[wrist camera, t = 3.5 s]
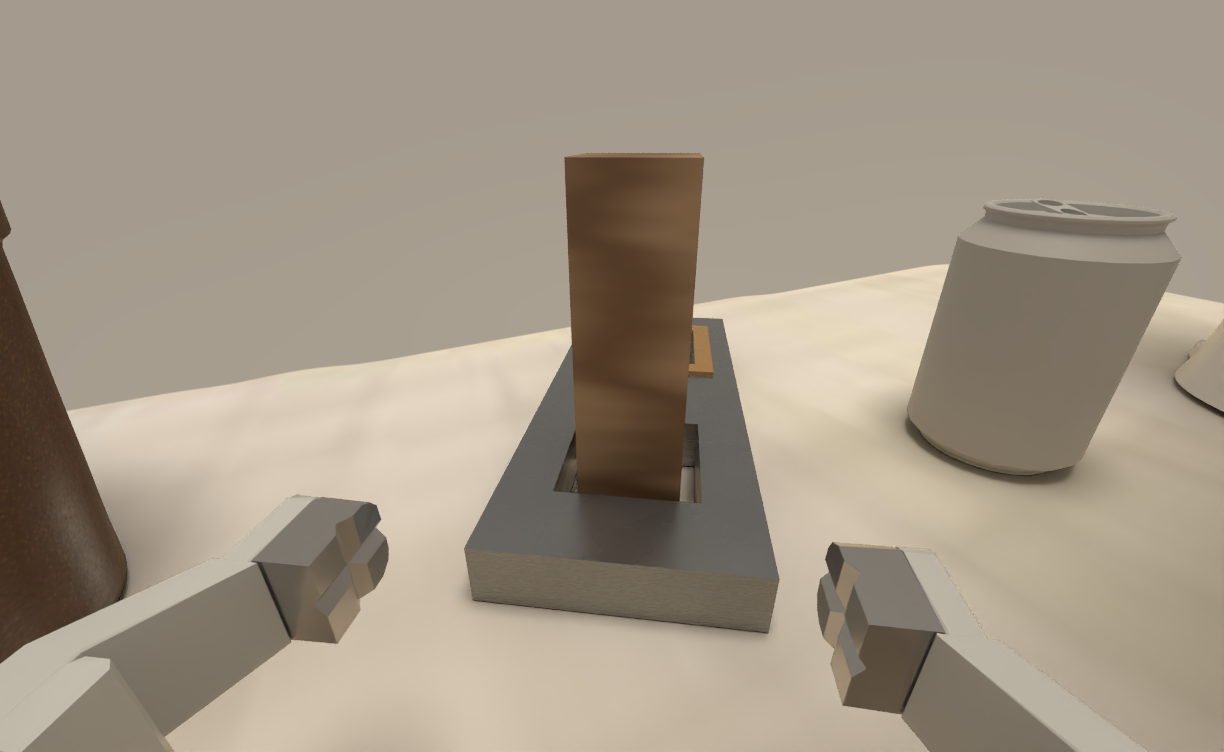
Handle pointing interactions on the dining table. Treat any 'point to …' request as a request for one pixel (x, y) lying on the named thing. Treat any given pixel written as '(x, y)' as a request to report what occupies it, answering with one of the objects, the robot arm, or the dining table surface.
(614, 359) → the walnut peg
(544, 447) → the metal plate
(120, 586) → the plant pot
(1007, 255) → the can
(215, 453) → the dining table surface
